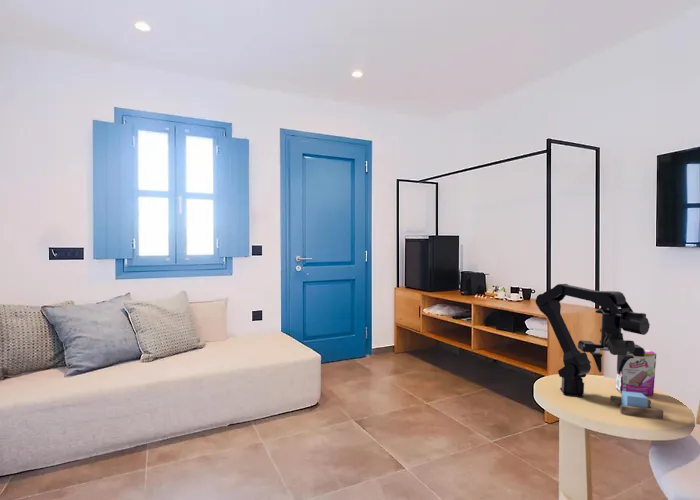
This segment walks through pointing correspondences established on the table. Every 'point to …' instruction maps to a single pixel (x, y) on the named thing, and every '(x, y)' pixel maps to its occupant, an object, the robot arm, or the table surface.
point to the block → (634, 399)
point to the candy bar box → (638, 375)
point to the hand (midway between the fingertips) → (609, 372)
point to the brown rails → (637, 409)
